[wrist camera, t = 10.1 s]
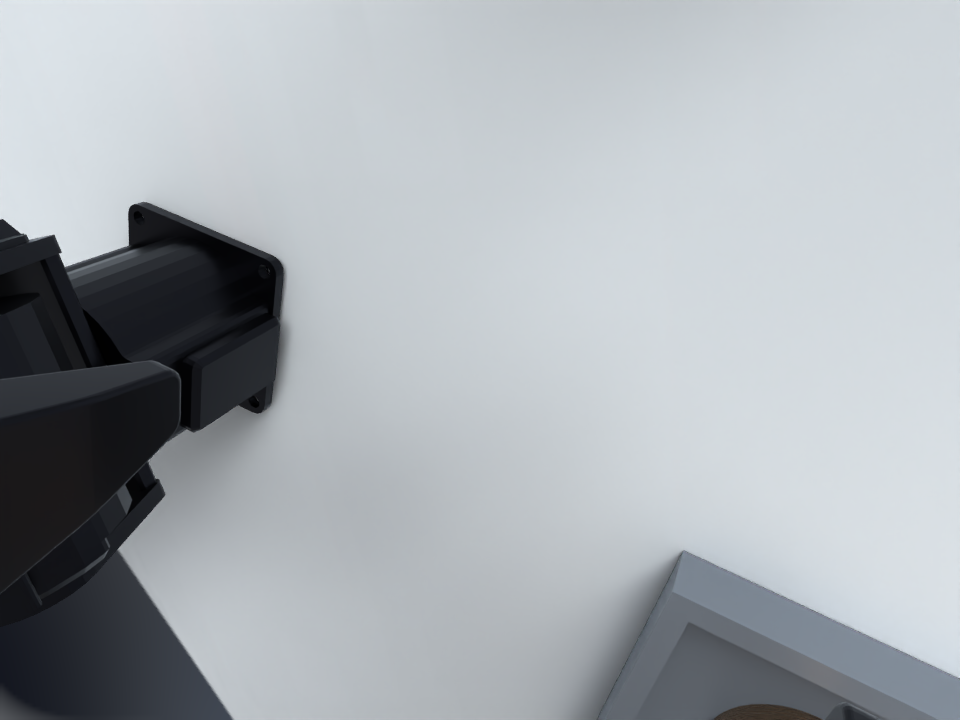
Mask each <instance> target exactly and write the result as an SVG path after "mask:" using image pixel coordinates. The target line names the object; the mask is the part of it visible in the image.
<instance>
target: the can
mask: <svg viewBox="0 0 960 720" xmlns="http://www.w3.org/2000/svg"><path fill="white" fill-rule="evenodd" d="M713 720H822V719H820V718H818V717H816V716H814V715H811V714H809V713H806V712H803V711H800V710H797V709H793V708H789V707H785V706H779V705H772V704H750V705H744V706H739V707H735V708H732V709H729V710H727V711H725V712H723V713H721V714H720V715H718V716H717V717H716V718H715V719H713Z"/></svg>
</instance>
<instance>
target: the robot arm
mask: <svg viewBox="0 0 960 720" xmlns="http://www.w3.org/2000/svg"><path fill="white" fill-rule="evenodd" d="M143 216H144V218H143ZM128 220H129V246H127V247H124V248H121V249H118V250H115V251H112V252H109V253H106V254H103V255H100V256H97V257H94V258H91V259H88V260H85V261H82V262H79V263H76V264H73V265H70V266H67V267H64V265H63V262H62V260H61V258H60V255H59V253H62V252H61V249H60V247H59V245H58V242H57V240H56V238H55V235H50V236H45V237H40V238H36V239H31V240H29V239H28V237H27V235H26V234H25V235H24V234H20V233H19V232H18V231H17V230H16V229H14V228H13V227H12V226H11V225H9V224H8V223H7V222H6V221H4V220H3V219H1V220H0V627H1V626H5V625H8V624H11V623H15V622H18V621H20V620H23V619H25V618H28V617H30V616H33V615H35V614H37V613H39V612H41V611H43V610H45V609H47V608H49V607H51V606H53V605H55V604H57V603H58V602H60V601H61V600H63V599H65V598H66V597H68V596H69V595H71V594H72V593H74V592H75V591H76V590H78V589H79V588H80V587H81V586H83V585H84V584H85V583H87V582H88V581H89V580H90V579H91V578H92V577H93V576H94V575H95V574H96V573H97V572H98V571H99V570H100V568H101V567H102V566H103V565H104V564H105V563H106V562H107V560H108V559H109V558H110V557H111V556H112V555H113V554H114V553H115V552H116V550H117V549H118V548H119V547H120V546H121V545H122V544H123V542H124V541H125V540H126V539H127V538H128V537H129V536H130V535H131V533H132V532H133V531H134V530H135V529H136V528H137V527H138V526H139V524H140V523H141V522H142V521H143V520H144V519H145V518H146V517H147V515H148V514H149V513H150V512H151V511H152V510H153V509H154V507H155V506H156V505H157V504H158V503H159V502H160V501H161V500H162V498H163V497H164V496H165V492H164V490H163V487H162V485H161V483H160V480H159V479H155V476H154V474H153V472H152V469H151V467H150V465H149V462H148V460H149V459H150V458H151V457H152V456H153V455H154V454H155V453H156V452H157V451H158V450H159V449H160V448H161V447H162V446H163V445H164V444H165V443H166V442H168V441H169V440H171V439H172V438H174V437H175V436H177V435H178V434H180V433H181V432H183V431H184V430H186V429H188V430H190V431H192V432H196V431H199V430H201V429H203V428H204V427H206V426H207V425H209V424H210V423H212V422H213V421H215V420H216V419H218V418H219V417H221V416H222V415H224V414H225V413H227V412H228V411H230V410H231V409H233V408H234V407H236V406H237V405H239V406H241V407H243V408H245V409H247V410H249V411H251V412H254V413H262V412H263V411H264V410H266V409H267V408H268V407H270V405H271V401H272V391H273V381H274V380H275V374H276V363H277V353H278V342H279V332H280V323H279V316H280V306H281V295H282V285H283V267H282V265H281V263H280V261H279V260H278V259H277V258H276V257H274V256H273V255H270V254H268V253H265V252H263V251H261V250H258V249H256V248H254V247H251V246H249V245H246V244H244V243H242V242H239V241H237V240H235V239H232V238H230V237H228V236H225V235H223V234H220V233H218V232H216V231H213V230H211V229H209V228H206V227H204V226H202V225H199V224H197V223H194V222H192V221H190V220H187V219H185V218H183V217H180V216H178V215H175V214H173V213H171V212H168V211H166V210H164V209H161V208H159V207H157V206H154V205H152V204H149V203H147V202H141V203H138V204H134V205H132V206H131V207H130V208H129V212H128ZM266 267H268V269H269V270H270V274H268V272H267V271H266ZM256 398H257V399H258V400H257V399H256ZM824 720H880V719H878V718H877V717H875V716H873V715H871V714H869V713H867V712H865V711H863V710H861V709H859V708H857V707H855V706H853V705H851V704H849V703H844V702H843V703H839V704H838V705H836V706H835V707H834V708H833V709H832V711H831V712H830V713H829V714H828V716H827V717H826V718H825V719H824Z"/></svg>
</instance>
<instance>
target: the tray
mask: <svg viewBox="0 0 960 720" xmlns="http://www.w3.org/2000/svg"><path fill="white" fill-rule="evenodd" d="M843 702H844V703H849V704H851V705H853V706H855V707H857V708H859V709H861V710H863V711H865V712H867V713H869V714H871V715H873V716H875V717H877V718H878V719H880V720H960V679H959V678H957V677H955V676H952V675H950V674H948V673H946V672H944V671H942V670H940V669H937V668H935V667H933V666H931V665H929V664H927V663H925V662H922V661H920V660H918V659H916V658H914V657H912V656H909V655H907V654H905V653H903V652H901V651H899V650H897V649H894V648H892V647H890V646H888V645H886V644H884V643H882V642H879V641H877V640H875V639H873V638H871V637H869V636H866V635H864V634H862V633H860V632H858V631H856V630H854V629H851V628H849V627H847V626H845V625H843V624H841V623H838V622H836V621H834V620H832V619H830V618H828V617H826V616H823V615H821V614H819V613H817V612H815V611H813V610H811V609H808V608H806V607H804V606H802V605H800V604H798V603H795V602H793V601H791V600H789V599H787V598H785V597H783V596H780V595H778V594H776V593H774V592H772V591H770V590H767V589H765V588H763V587H761V586H759V585H757V584H755V583H752V582H750V581H748V580H746V579H744V578H742V577H740V576H737V575H735V574H733V573H731V572H729V571H727V570H724V569H722V568H720V567H718V566H716V565H714V564H712V563H709V562H707V561H705V560H703V559H701V558H699V557H696V556H694V555H692V554H690V553H688V552H686V551H683V553H682V555H681V557H680V559H679V560H678V562H677V564H676V566H675V568H674V570H673V572H672V574H671V576H670V578H669V580H668V582H667V584H666V586H665V588H664V590H663V592H662V594H661V596H660V598H659V599H658V601H657V603H656V605H655V607H654V609H653V611H652V613H651V615H650V617H649V619H648V621H647V623H646V625H645V627H644V629H643V631H642V633H641V635H640V637H639V638H638V640H637V642H636V644H635V646H634V648H633V650H632V652H631V654H630V656H629V658H628V660H627V662H626V664H625V666H624V668H623V670H622V672H621V674H620V676H619V677H618V679H617V681H616V683H615V685H614V687H613V689H612V691H611V693H610V695H609V697H608V699H607V701H606V703H605V705H604V707H603V709H602V711H601V713H600V715H599V716H598V718H597V720H713V719H715V718H716V717H717V716H718V715H720V714H721V713H723V712H725V711H727V710H729V709H732V708H735V707H739V706H744V705H750V704H772V705H779V706H785V707H789V708H793V709H797V710H800V711H803V712H806V713H809V714H811V715H814V716H816V717H818V718H820V719H822V720H824V719H825V718H826V717H827V716H828V714H829V713H830V712H831V711H832V709H833V708H834V707H835V706H836V705H838V704H839V703H843Z"/></svg>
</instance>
